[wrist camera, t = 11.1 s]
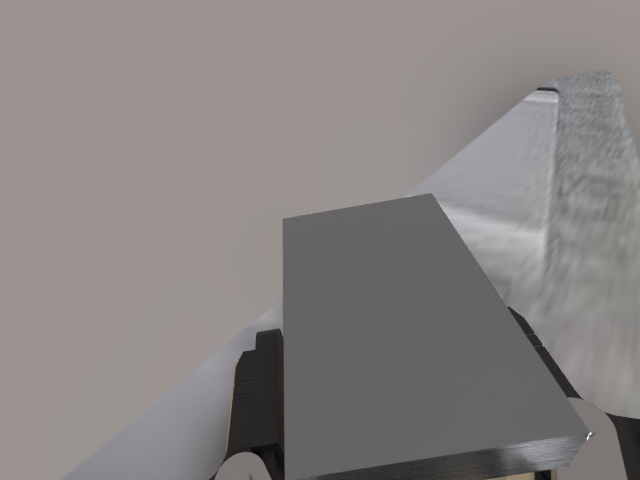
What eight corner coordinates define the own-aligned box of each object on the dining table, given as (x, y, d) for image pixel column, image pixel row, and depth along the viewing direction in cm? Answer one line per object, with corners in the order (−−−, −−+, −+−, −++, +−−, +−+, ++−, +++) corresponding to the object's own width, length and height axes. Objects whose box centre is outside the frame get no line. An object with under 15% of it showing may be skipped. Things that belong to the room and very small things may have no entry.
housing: (355, 616, 13) (284, 481, 5) (332, 416, 18) (282, 218, 11) (485, 596, 13) (589, 432, 5) (422, 402, 18) (431, 193, 11)
